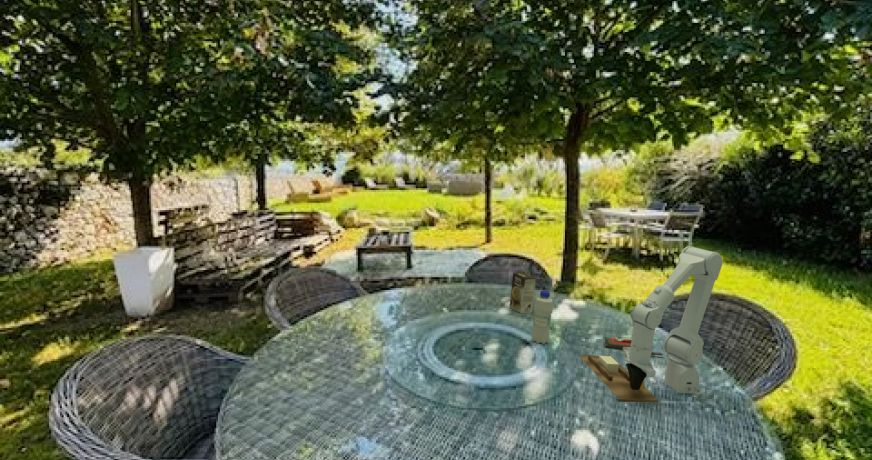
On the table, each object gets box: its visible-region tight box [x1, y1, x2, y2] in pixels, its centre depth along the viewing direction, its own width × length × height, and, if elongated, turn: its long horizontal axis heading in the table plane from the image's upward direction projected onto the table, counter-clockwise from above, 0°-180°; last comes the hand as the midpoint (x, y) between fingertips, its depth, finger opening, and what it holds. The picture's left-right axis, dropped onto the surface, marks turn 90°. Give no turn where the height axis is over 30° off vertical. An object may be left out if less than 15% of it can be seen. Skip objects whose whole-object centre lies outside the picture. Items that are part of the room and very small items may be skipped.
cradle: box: [578, 354, 659, 404], centre depth 155 cm, size 30×12×2 cm, turn 6°
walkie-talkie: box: [604, 336, 664, 357], centre depth 179 cm, size 9×4×20 cm
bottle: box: [531, 289, 554, 345], centre depth 178 cm, size 7×7×20 cm
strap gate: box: [639, 380, 645, 391], centre depth 148 cm, size 1×6×3 cm, turn 8°
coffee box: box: [509, 271, 537, 314], centre depth 215 cm, size 9×6×16 cm
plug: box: [598, 355, 620, 373], centre depth 160 cm, size 6×4×3 cm, turn 6°
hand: (634, 388), depth 145 cm, fingers closed
